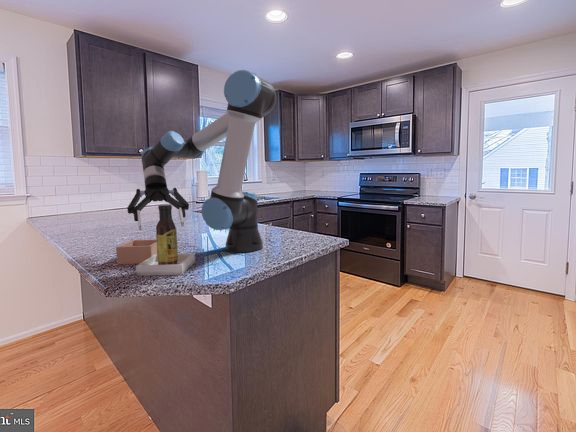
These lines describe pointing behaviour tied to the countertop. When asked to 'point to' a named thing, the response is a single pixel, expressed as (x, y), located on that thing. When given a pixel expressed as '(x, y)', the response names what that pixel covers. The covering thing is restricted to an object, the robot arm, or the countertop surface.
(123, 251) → the holder
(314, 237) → the countertop surface
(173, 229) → the sauce bottle
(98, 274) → the countertop surface
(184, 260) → the tray
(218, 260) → the countertop surface
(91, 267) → the countertop surface
